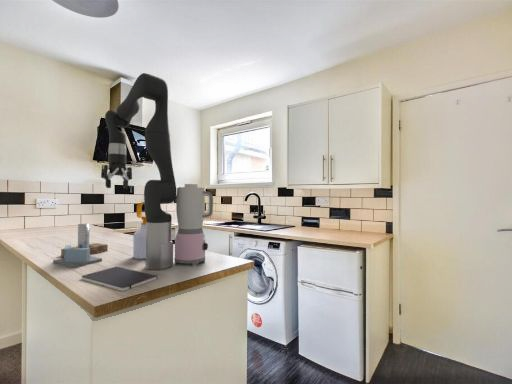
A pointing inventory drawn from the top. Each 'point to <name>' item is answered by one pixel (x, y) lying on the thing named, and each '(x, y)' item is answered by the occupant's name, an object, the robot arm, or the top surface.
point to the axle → (83, 235)
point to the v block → (76, 257)
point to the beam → (93, 248)
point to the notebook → (119, 278)
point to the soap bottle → (140, 236)
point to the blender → (191, 224)
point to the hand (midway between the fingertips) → (117, 188)
